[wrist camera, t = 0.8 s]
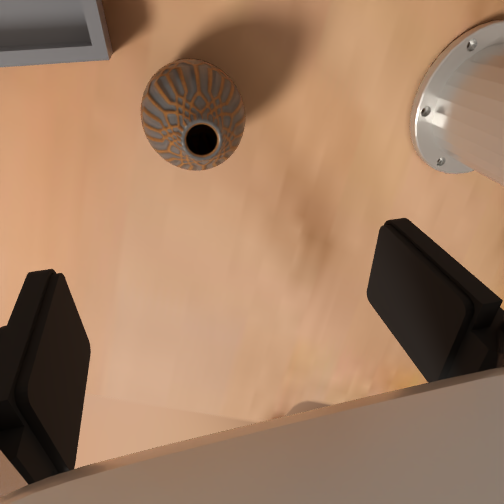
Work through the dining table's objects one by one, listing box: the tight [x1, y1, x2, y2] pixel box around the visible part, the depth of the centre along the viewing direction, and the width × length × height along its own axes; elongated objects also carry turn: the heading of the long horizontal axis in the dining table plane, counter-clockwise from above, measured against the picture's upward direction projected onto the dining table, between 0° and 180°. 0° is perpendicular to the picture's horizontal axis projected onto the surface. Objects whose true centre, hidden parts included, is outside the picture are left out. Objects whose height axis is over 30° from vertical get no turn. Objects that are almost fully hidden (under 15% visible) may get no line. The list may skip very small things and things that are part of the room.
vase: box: [141, 59, 245, 170], centre depth 25 cm, size 7×7×9 cm
